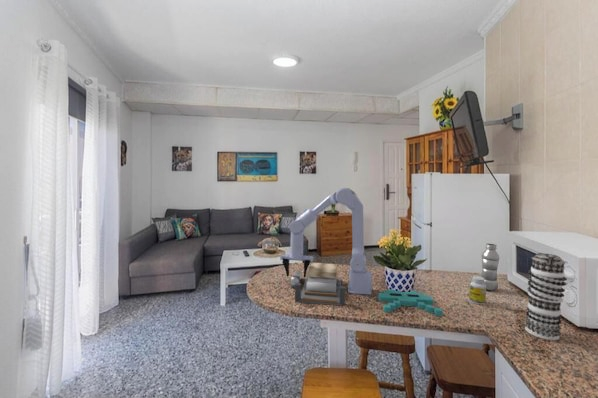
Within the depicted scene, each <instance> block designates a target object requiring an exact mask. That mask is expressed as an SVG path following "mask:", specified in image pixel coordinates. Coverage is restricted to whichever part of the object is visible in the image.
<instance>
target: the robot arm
mask: <svg viewBox="0 0 598 398" xmlns="http://www.w3.org/2000/svg"><path fill="white" fill-rule="evenodd" d="M337 204H341V205H343V206H346V207H347V208H348V209H349V210H350V211H351V227H352V228H351V233H352V234H351V236H352V238H351V239H352V240H351V241H352V243H351V245H352V248H351V249H352V251H351V259H350V261H349V275H348V277H349V278H348V285H347V292H348V293H349V294H356V295H357V294H358V295H359V294H360V295H372V289H373V272H372V270H368V269H367V267H366V263H367V260H368V258H367V256H366V254H365V239H364V238H365V235H364V232H365V230H364V205H363V203H362V201H361V199H360V198H359V197H358V196H357V194H356V192H355V191H353V190H352V189H351V188H349V187H343V188H340V189H338V190H337V191H335V192H333V193H331V194H329V195H327V197H326V198H325V199H324V200H322V201H321V202H320V203H318V204H317V205H316V206H315V207H314V208H308V209H307V208H306V209H305V210H304V211H303V213H302V214H301V215H298V216H296V219H295V220H292V221H291V222H290V223H289V226H288V229H289V231H290V246H289V247H290V254H280V258H279V259H280V261H281V262H282V265H283V267H284V270H285V273H286V277H289V275H290V261H300V262H303V278H307V275H306V274H307V271H308V269H309V265H311V263H314V262H313V261H314V256H310V255H305V254H304V231H305V229H306V228H308V227H309V226H310V225H312V224H313V223H314V222H315V221H317V219H318V217H319V214H321V213H322V212H323V211H324V210H326V209H327V208H328V207H330V206H331V205H337Z"/></svg>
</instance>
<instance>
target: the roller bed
mask: <svg viewBox="0 0 598 398" xmlns="http://www.w3.org/2000/svg"><path fill="white" fill-rule="evenodd" d="M294 302H298V303H303V304H304V303H305V304H317V305H331V306H346V285H345V286H344V285H342V278H338V277H337V278H321V277H308V276H307V275H306V277H305V280H304V284H303V287H302V283H301V282H300V283H296V284H295V289H294Z"/></svg>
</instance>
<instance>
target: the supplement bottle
mask: <svg viewBox="0 0 598 398" xmlns="http://www.w3.org/2000/svg"><path fill="white" fill-rule="evenodd" d="M484 282H485V279H484V278H483V277H481V276H480V275H479V276H478V275H475V276H472V281H471V282H470V285H469V297H468V299H469V302H470V303H473V304H476V305H479V304H480V305H482V304H483V305H485V304H486V297H487V290H486V285H485V284H484ZM480 305H479V306H480Z"/></svg>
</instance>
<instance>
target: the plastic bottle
mask: <svg viewBox="0 0 598 398" xmlns="http://www.w3.org/2000/svg"><path fill="white" fill-rule="evenodd" d="M497 250H498V249H497V244H496V243H486V245H485V250H484V251H483V252H482V253H481V264H482V265H481V266H482V267H481V270H482V271H481V276H480V277H483V278H484V279H485V282H484V284H485V285H486V291H493V292H494V291H496V290H497V289H498V288H499V283H498V267H499V261H500V255H499V253H498V252H497Z"/></svg>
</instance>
